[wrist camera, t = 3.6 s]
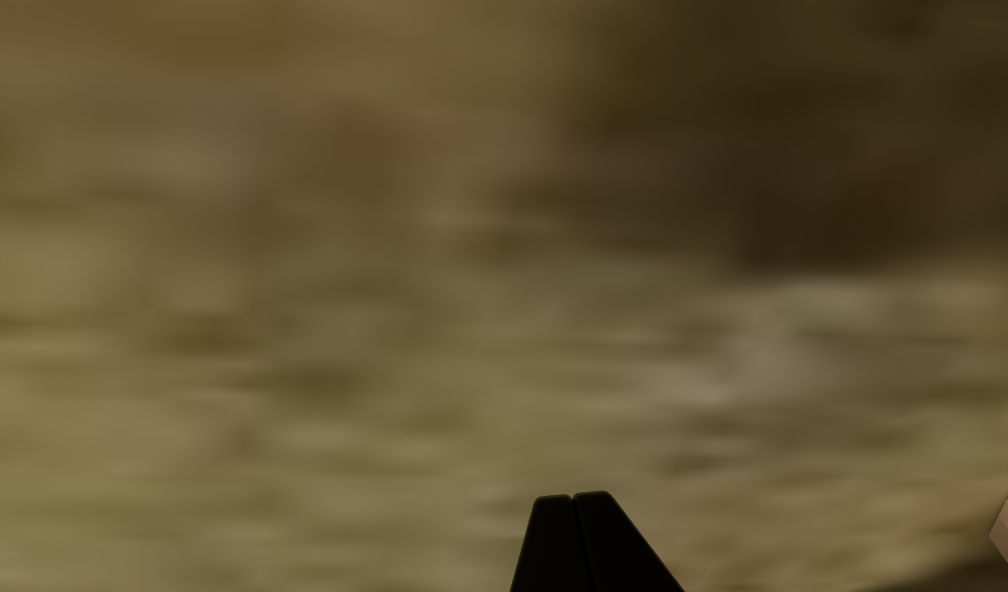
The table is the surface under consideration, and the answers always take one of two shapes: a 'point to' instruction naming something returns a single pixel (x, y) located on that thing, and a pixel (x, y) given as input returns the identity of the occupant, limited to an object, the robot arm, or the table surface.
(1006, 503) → the box
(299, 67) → the table surface
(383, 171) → the table surface
